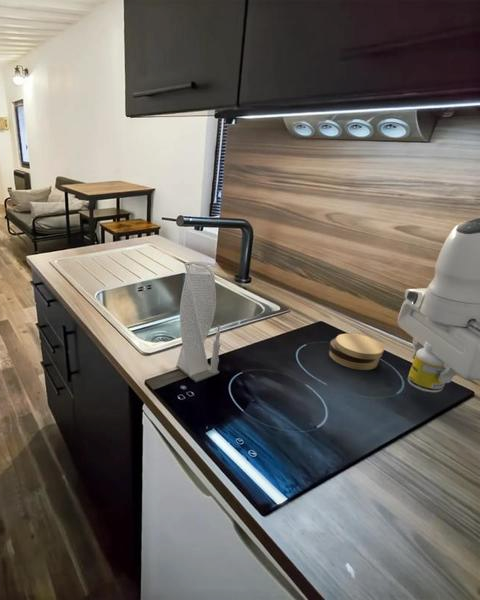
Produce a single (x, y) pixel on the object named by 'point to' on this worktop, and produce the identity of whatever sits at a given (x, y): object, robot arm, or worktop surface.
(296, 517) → the worktop surface
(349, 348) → the coaster pile
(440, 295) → the robot arm
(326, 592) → the worktop surface
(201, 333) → the skyscraper
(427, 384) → the supplement bottle
